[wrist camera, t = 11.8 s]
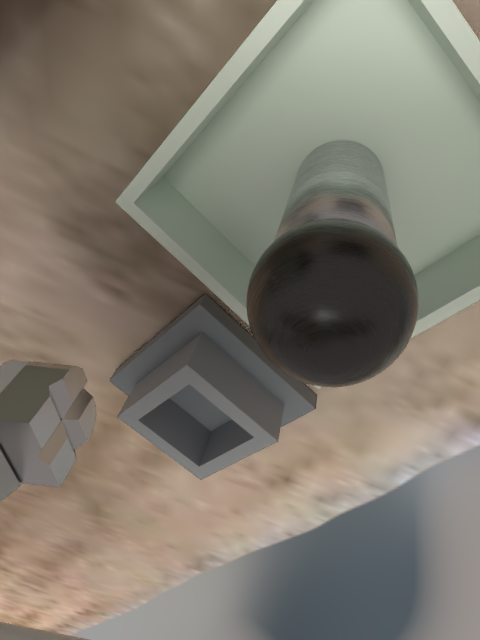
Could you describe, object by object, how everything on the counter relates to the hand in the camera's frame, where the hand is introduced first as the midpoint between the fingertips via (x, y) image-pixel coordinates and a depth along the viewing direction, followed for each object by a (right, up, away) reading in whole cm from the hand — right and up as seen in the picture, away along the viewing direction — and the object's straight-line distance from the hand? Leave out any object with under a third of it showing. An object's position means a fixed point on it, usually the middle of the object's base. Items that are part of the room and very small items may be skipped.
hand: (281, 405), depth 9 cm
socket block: (-3, -3, +22) cm, 22 cm away
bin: (+4, +8, +12) cm, 15 cm away
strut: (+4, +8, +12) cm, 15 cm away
